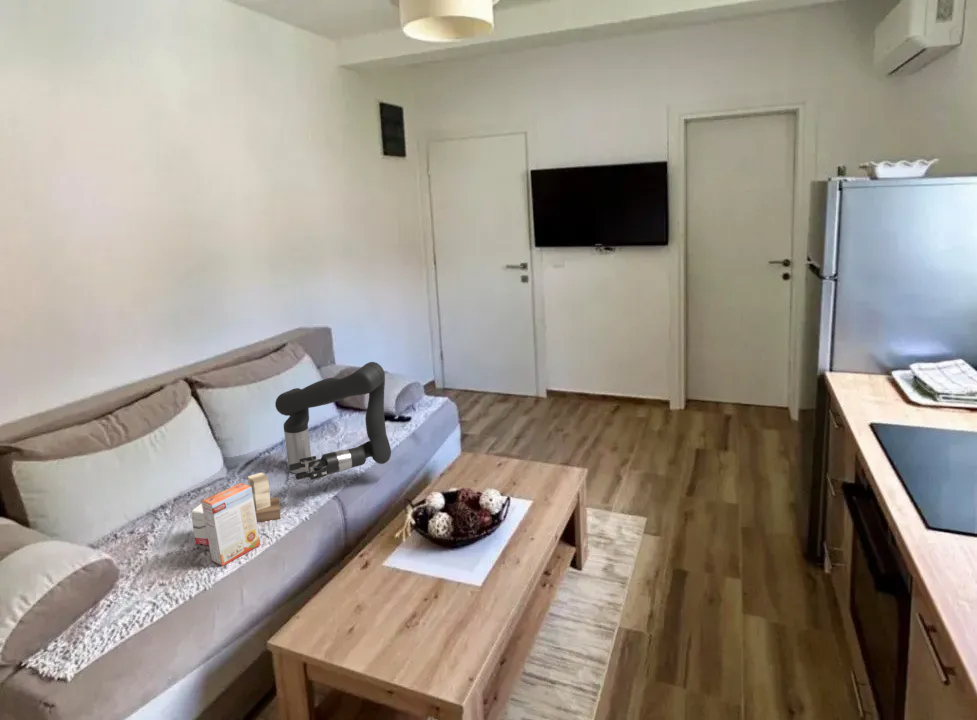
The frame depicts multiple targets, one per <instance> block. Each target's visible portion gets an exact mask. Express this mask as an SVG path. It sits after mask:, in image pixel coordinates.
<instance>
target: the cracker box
mask: <svg viewBox="0 0 977 720" xmlns="http://www.w3.org/2000/svg"><path fill="white" fill-rule="evenodd" d="M201 503H202V508H203V514H204V519H205V525H206V530H207V536H208V541H209V545H208V547H209V553H210V557H211V561H212V562H213V561H214V563H215V562H216V563H215V564H218V565H220V566H222V567H223V566H225V565H228V564H229V563H231V562H233V561H235V560H237V559H238V558H239V557H241V556H243V555H245V554H247V553H249V552H250V551H252V550H254V549H255V548H257V547H259V546H261V541H260V534H259V527H258V523H257V520H256V513H255V506H254V500H253V494H252V487H251V486H248V484H245V483H242V482H239V483H237V484H236V485H233V486H231V487H229V488H226V489H224V490H223V491H220V492H218V493H216V494H213V495H211V496H208V497H207V498H205V499H204V498H203V499H202V500H201Z"/></svg>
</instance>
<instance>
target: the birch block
mask: <svg viewBox="0 0 977 720" xmlns="http://www.w3.org/2000/svg"><path fill="white" fill-rule="evenodd" d="M269 482H270V481H269V476H268V475H266V474H265V473H263V472H258V473H255V474H252V475H248V476H247V483H248V484H247V485H248V486H251V487H252V494H253V500H254V506H255V510H256V511H258V510H260V509H263V508H266V507H269V506H271V504H270V498H271V496H270V494H271V493H270V486H269V484H270V483H269Z"/></svg>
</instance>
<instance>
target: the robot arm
mask: <svg viewBox="0 0 977 720" xmlns="http://www.w3.org/2000/svg"><path fill="white" fill-rule="evenodd" d="M385 375H386V374H385V371H384V368H383V367H382V365H380V364H379V363H377V362H376V361H370V362H367V363H366V364H364V365H363V366H361V367H359V368H358V369H357V370H356V371H354V372H353V373H351V374H349V375H347V376H344V377H342V378H339V377H327V378H325V379H321V380H319V381H316V382H313V383H311V384H309V385H307V386H306V387H303V388H300V387H299V388H298V387H295V388H293V389H290V390H288V391H284V392H282V393H280V394H279V395H278V396H277V397H276V400H275V403H274V404H275V406H274V407H275V409H276V411H277V412H279V414H280V415H282V416H288V418H287V419H286V420H285V421H284V423H283V434H284V442H285V449H286V456H287V459H286V460H287V465H288V471H289V473H291V472H292V473H291V474H295V475H294V477H295V480H296V481H298V480H302V479H303V480H304V479H306V478H307V479H309V480H311V481H313V480H317V479H320V478H323V477H326V476H328V475H331V474H336V473H339V472H344V471H346V470H349V469H353V468H357V467H360V466H363V465H364V464H366V461H367V459H368V458H372V460H374V462H375V463H377V464H379V465H384V464H387V462H389V460H390V458H391V456H392V449H391V444H390V441H389V439H388V436H387V430H386V429H387V428H386V422H385V421H386V419H385V411H384V409H385V384H386V383H385V381H386V376H385ZM367 394H368V403H367V407H366V413H365V428H366V434H367V437H368V441H366V442H365V443H362V444H360V445H358V446H357V447H352V448H347V449H340V450H337V451H336V450H335V451H331V452H328V453H327V452H326V453H323V454H322V455H321V457H320V458H319V459H317V456H316V455H312V452H311V451H312V449H311V441H310V433H309V432H310V431H309V422H310V412H309V411H310V408H315V407H320V406H325V405H326V406H327V405H329V404H332V403H336V402H339V401H341V400H345V399H346V398H349V397H356V396H360V395H361V396H362V395H367ZM306 471H307V472H306Z"/></svg>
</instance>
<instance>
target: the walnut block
mask: <svg viewBox="0 0 977 720" xmlns="http://www.w3.org/2000/svg"><path fill="white" fill-rule="evenodd" d="M270 504H271V506H269V507H266V508H263V509H260V510H258V511H256V510H255V513H256V520H257V522H261V523H266V522H265V521H267V522H271V521H270V520H272V521H277V520H281V503H280V497H279V496H275V497H270Z"/></svg>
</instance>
